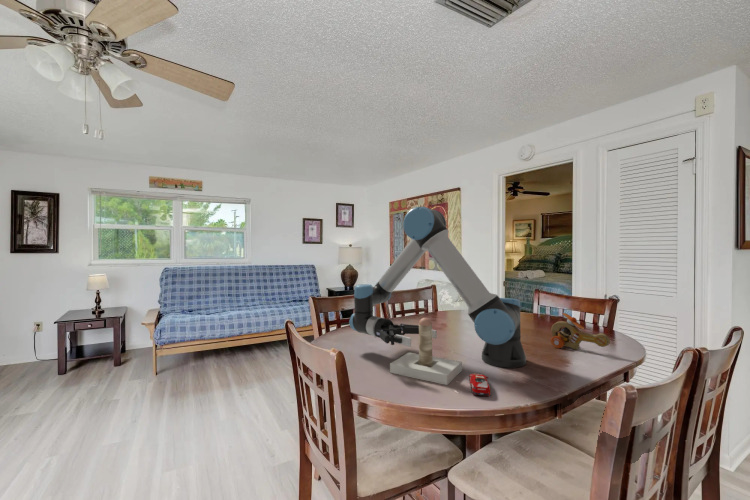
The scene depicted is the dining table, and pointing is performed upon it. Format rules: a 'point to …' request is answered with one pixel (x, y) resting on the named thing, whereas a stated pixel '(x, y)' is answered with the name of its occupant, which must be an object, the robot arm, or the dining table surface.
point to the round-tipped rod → (425, 342)
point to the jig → (427, 368)
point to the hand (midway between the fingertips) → (423, 338)
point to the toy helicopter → (574, 335)
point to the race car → (479, 384)
